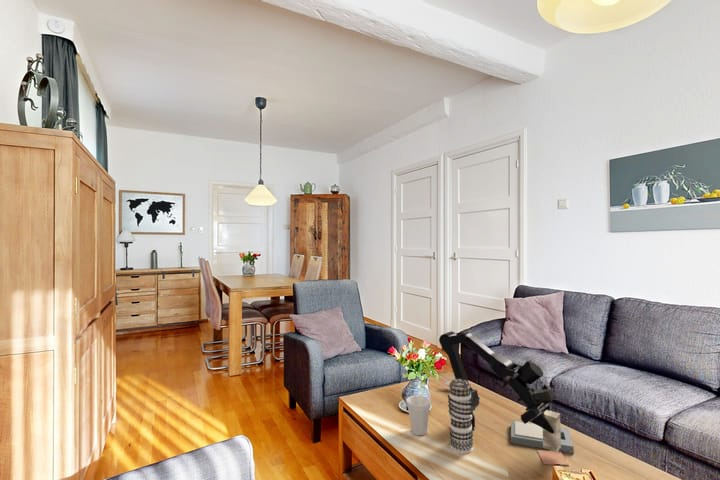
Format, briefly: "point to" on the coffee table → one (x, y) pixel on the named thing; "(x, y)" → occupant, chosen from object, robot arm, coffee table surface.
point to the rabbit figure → (446, 384)
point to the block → (554, 439)
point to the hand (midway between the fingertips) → (555, 430)
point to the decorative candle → (460, 416)
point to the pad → (552, 457)
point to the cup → (418, 413)
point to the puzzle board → (537, 436)
